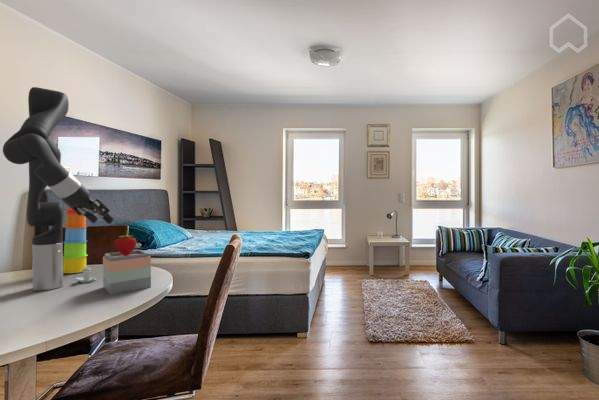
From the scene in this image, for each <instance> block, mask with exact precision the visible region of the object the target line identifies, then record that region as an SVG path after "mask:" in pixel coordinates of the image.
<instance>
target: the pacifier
mask: <svg viewBox="0 0 599 400" xmlns="http://www.w3.org/2000/svg"><path fill="white" fill-rule="evenodd" d="M81 273H82V274H83V277H79V276H77V277H75V279H76V281H77V282H79V283H83V284H85V283H92V282H93V281H96V280H97V277H98V275H94V276H91V273H92V269H91V268H90V267H88V266H86V268H84V269H83V271H82V272H81Z"/></svg>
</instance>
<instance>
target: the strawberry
mask: <svg viewBox="0 0 599 400" xmlns="http://www.w3.org/2000/svg"><path fill="white" fill-rule="evenodd" d="M125 232H126V235H121V236H118V238H117V239H116V240H115V241H114V246H115V248H116V250H117V252H121V253H122V254H123V255H124V256H127V255H129V254H130V253H131V252H132V251H134V249H135V248H136V246H137V239H136V238H135V237H134V234H133V235H128V233H127V232H128V231H125Z"/></svg>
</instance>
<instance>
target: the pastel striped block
mask: <svg viewBox="0 0 599 400" xmlns="http://www.w3.org/2000/svg"><path fill="white" fill-rule="evenodd" d="M151 257H152V256H151V255H150V252H149V253H148V252H147V251H145V250H142V249H135V250H134V249H133V251H132V252H131V253H130V254H129V255H127V256H124V255H123V254H122V253H121V252H119V251H117V252H108V253H104V256H102V282H103V283H102V286H103V289H104V290H105V291H106V292H107V293H108V294H109V295H115V294H121V293H127V292H131V291H132V292H133V291H137V290H142V289H147V288H148V287H149V288H152V265H151V263H152V261H151V260H152V259H151Z"/></svg>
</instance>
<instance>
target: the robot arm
mask: <svg viewBox="0 0 599 400" xmlns="http://www.w3.org/2000/svg"><path fill="white" fill-rule="evenodd" d="M27 98H28V99H27V100H28V104H27V105H28V117H27V118H26V119H25V120H24V121H23V123H22V125H21V127H20V128H19V130H18V131H17V132H16V133H14V134H12V136H10V137H9V138H8V139H7V140H6V141H5V142H4V144H3V146H2V154H3V155H4V157H5V159H6V160H8V162H10V163H12V164H13V165H15V164H16V165H25V164H27V163H28V194H27V196H28V197H27V205H26V221H27V224H28V226H30V227H47V226H48V227H50V226H51V228H50V229H49V230H47V231H45V232H44V233H40V234H38V235H35V236H33V237H32V240H31V241H32V242H31V243H32V244H31V246H32V265H31V266H32V292H35V291H36V292H37V291H49V290H53V289H54V290H55V289H58V288H61V287H63V286H64V273H63V260H64V258H63V256H64V250H63V249H64V247H63V246H64V245H63V244H64V240H63V238H64V237H63V236H64V232H63V226H64V207H63V206H64V205H63V204H62V203H61V202H59V201H50V202H49V201H41V202H40V200H41V197H42V195H43V192H44V191H45V189H46V188H47V187H48V188H49V189H50V190H51V191H52V192H53V194H55V195H56V196H57V197H58V198H59V199H61V201H62V202H64V203H65V204H66V205H67V207H68V206H70V207H71V208H72V209H73V210H74V211H75V212H76V213H77V214H78V215H81V214H82V216H84V217H85V216H86V220H88V221H89V222H91V223H92V224H95V223H96V222H97V221H98V217H97V216H99V217H100V218H101V219H102V220H103V221H105V222H106V223H107V224H109V225H110V224H112V222H114V217H112V216H111V215H110V214H109V213H110V209H109V208H108V207H107V206H106V205H105V204H104V203H103V202H102V201H100V199H96V198H95V200H94V199H91V198H90V195H91V194H90V193H91V192H90V191H89V189H87V188H86V187H85V186H84V185H83V184H82V182H80V181H79V179H77V178H76V177H75V176H74V175H73V174H71V173H70V172H69V171H68V170H67V169H66V168H65V167H64V166H63V165H62V164H61V157H62V153H61V151H60V148H59V147H58V145H57V144H56V143H55V140H54V139H53V138H52V137H51V133H52V131H53V129H54V128H56V126H57V125H58V124H59V123H61V121H62V120H63V119H65V117H66V116H67V114H68V112H69V103H70V102H69V98H68V96H67V94H66V93H64V92H61V91H58V90H53V89H48V88H44V87H43V88H42V87H38V86H35V87H34V86H32V87H30V89H29V92H28V97H27ZM78 210H79V211H78ZM96 215H97V216H96Z"/></svg>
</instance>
